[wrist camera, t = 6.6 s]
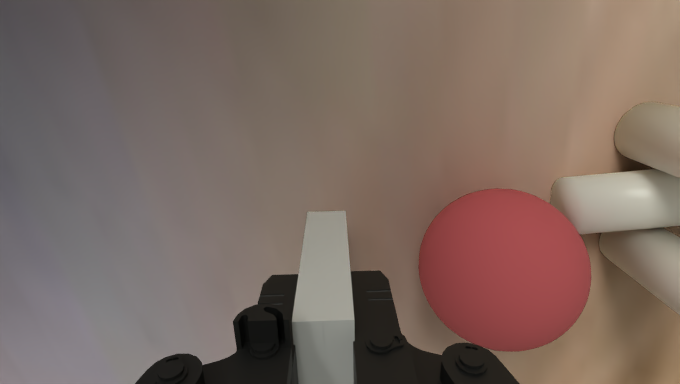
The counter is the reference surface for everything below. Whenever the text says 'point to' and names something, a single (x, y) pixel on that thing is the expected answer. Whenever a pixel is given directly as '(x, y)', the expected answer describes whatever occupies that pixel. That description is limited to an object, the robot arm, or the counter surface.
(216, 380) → the robot arm
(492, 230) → the ball
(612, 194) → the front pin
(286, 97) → the counter surface
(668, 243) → the pin
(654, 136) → the pin
